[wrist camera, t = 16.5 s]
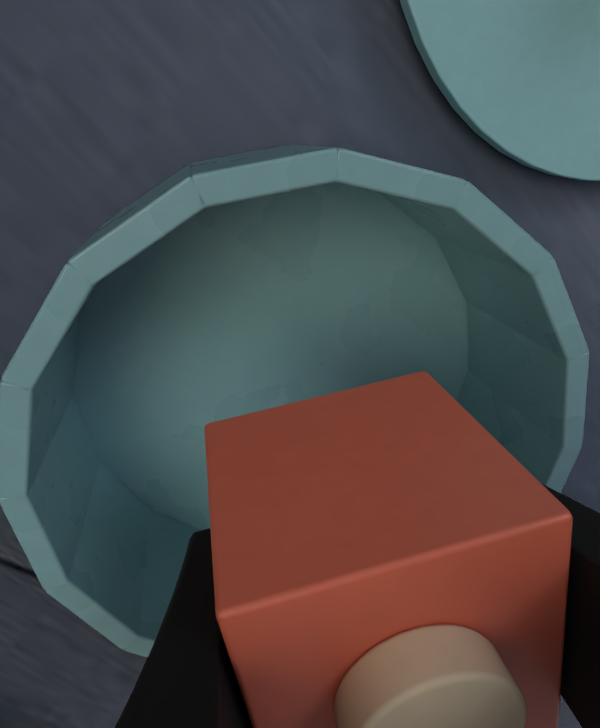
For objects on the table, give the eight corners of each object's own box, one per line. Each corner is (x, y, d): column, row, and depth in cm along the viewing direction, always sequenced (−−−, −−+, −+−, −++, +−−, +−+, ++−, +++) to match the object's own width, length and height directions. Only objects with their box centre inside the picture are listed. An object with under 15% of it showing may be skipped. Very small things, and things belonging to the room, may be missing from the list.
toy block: (426, 368, 11) (624, 560, 6) (437, 538, 13) (594, 789, 8) (202, 422, 10) (217, 681, 5) (250, 591, 12) (294, 895, 7)
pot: (472, 109, 15) (610, 94, 10) (481, 488, 21) (572, 596, 16) (-22, 202, 13) (-140, 237, 9) (134, 583, 19) (116, 734, 14)
